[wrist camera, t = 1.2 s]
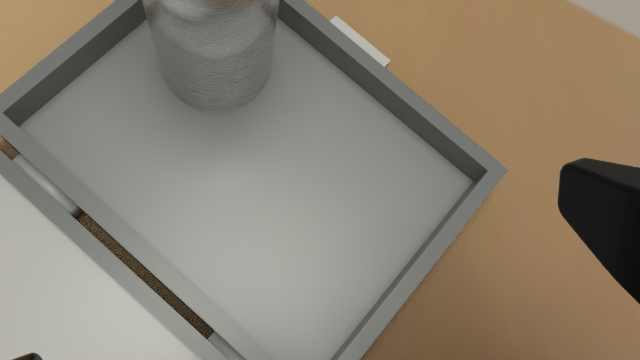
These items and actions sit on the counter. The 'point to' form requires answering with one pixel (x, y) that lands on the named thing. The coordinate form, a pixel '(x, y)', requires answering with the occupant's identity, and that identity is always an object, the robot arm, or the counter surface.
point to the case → (257, 179)
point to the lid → (78, 286)
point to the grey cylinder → (213, 49)
